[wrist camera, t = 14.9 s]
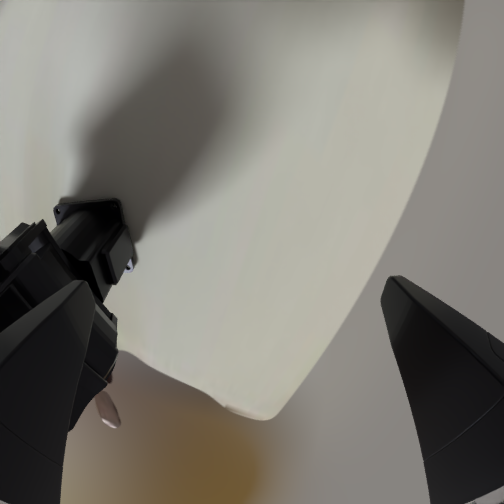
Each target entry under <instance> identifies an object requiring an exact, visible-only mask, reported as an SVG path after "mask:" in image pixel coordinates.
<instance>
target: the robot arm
mask: <svg viewBox="0 0 504 504" xmlns="http://www.w3.org/2000/svg"><path fill="white" fill-rule="evenodd" d="M113 203H114V204H115V205H116V207H114V206H113V205H112V204H113ZM58 209H59V210H60V212H59V211H58ZM53 211H54V215H55V219H56V222H57V226H56V227H55V228H54V229H53V230H52V231H51V232H49V230H48V229H47V227H46V226H47V225H46V223H45V221H44V220H43V219H42V220H41V221H39V222H38V223H37V224H35V222H34V223H33V224H31V225H28V224H25V223H23V222H22V223H21V224H20V225H19V226H18V227H16V228H15V229H14V230H13V231H12V232H11V233H10V234H9V235H8V236H6V237H5V238H4V239H3V240H2V241H1V242H0V504H60V496H61V482H62V472H63V467H62V466H63V462H64V454H65V446H66V440H67V433H68V432H69V431H70V430H72V429H73V428H74V426H75V424H76V422H77V421H78V419H79V417H80V415H81V414H82V412H83V410H84V409H85V407H86V406H87V404H88V403H89V402H90V401H91V400H92V398H94V396H95V395H96V394H98V393H99V392H100V391H101V390H103V389H104V388H105V387H106V386H107V384H108V383H107V381H106V380H107V379H108V377H109V376H110V374H111V373H112V371H113V369H114V366H115V363H116V359H117V357H118V349H117V318H116V316H115V315H114V314H113V313H110V312H109V310H108V309H107V308H106V307H105V306H104V305H103V302H104V300H105V298H106V296H107V294H108V292H109V290H110V288H111V286H112V285H116V284H117V283H118V282H119V280H120V278H121V276H122V274H123V273H130V272H132V271H133V269H134V261H133V257H132V255H133V248H132V244H131V239H130V235H129V230H128V226H127V225H126V224H125V221H124V216H123V211H122V206H121V202H120V201H119V200H118V199H116V198H112V199H101V200H91V201H81V202H72V203H64V204H58V205H56V206H55V207H54V210H53ZM127 265H129V266H130V267H127ZM381 307H382V310H383V314H384V318H385V322H386V325H387V330H388V334H389V339H390V342H391V346H392V349H393V352H394V355H395V358H396V361H397V364H398V367H399V371H400V374H401V377H402V380H403V383H404V387H405V390H406V393H407V397H408V400H409V404H410V407H411V411H412V415H413V419H414V422H415V426H416V430H417V435H418V438H419V443H420V447H421V452H422V457H423V460H424V467H425V473H426V478H427V484H428V489H429V496H430V503H431V504H465V503H468V502H470V501H473V500H475V501H474V502H472V503H471V504H504V343H503V342H501V341H500V340H498V339H497V338H495V337H494V336H493V335H491V334H490V333H489V332H486V330H484V329H483V328H481V327H480V326H478V325H477V324H476V323H474V322H473V321H471V320H470V319H468V318H467V317H465V316H464V315H462V314H461V313H459V312H458V311H456V310H455V309H453V308H452V307H450V306H449V305H447V304H446V303H444V302H442V301H441V300H439V299H438V298H436V297H435V296H433V295H432V294H430V293H429V292H427V291H425V290H424V289H422V288H421V287H419V286H417V285H416V284H414V283H413V282H411V281H409V280H408V279H406V278H405V277H403V276H400V275H398V276H390V277H389V278H388V279H387V281H386V284H385V287H384V290H383V293H382V296H381Z"/></svg>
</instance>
